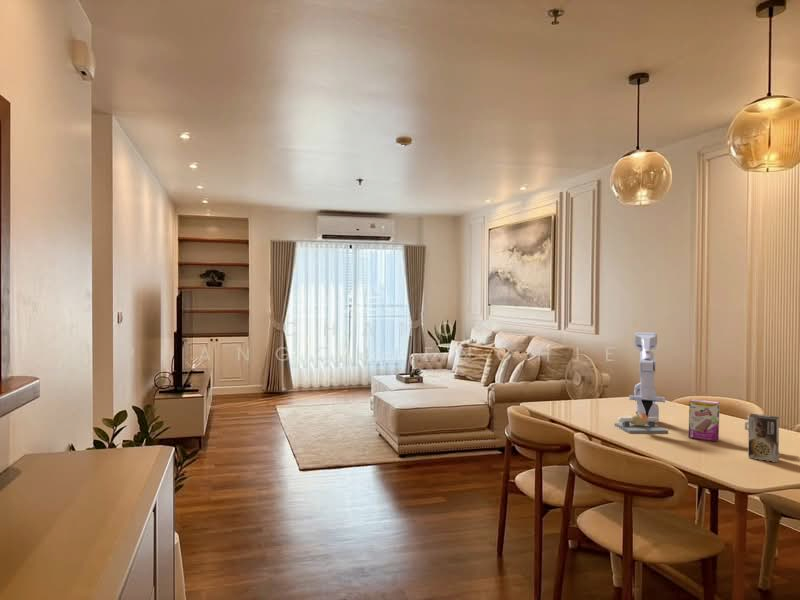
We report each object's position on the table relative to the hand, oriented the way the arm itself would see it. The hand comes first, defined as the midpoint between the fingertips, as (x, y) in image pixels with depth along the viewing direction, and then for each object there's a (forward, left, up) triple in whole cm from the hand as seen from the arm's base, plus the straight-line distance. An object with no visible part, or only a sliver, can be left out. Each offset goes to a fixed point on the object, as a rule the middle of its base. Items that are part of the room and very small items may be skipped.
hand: (646, 417), depth 236 cm
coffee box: (-24, +39, -7) cm, 47 cm away
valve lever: (+1, -3, -1) cm, 3 cm away
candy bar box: (-19, +11, -7) cm, 23 cm away
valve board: (0, -6, -7) cm, 9 cm away
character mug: (-31, +27, -7) cm, 42 cm away
